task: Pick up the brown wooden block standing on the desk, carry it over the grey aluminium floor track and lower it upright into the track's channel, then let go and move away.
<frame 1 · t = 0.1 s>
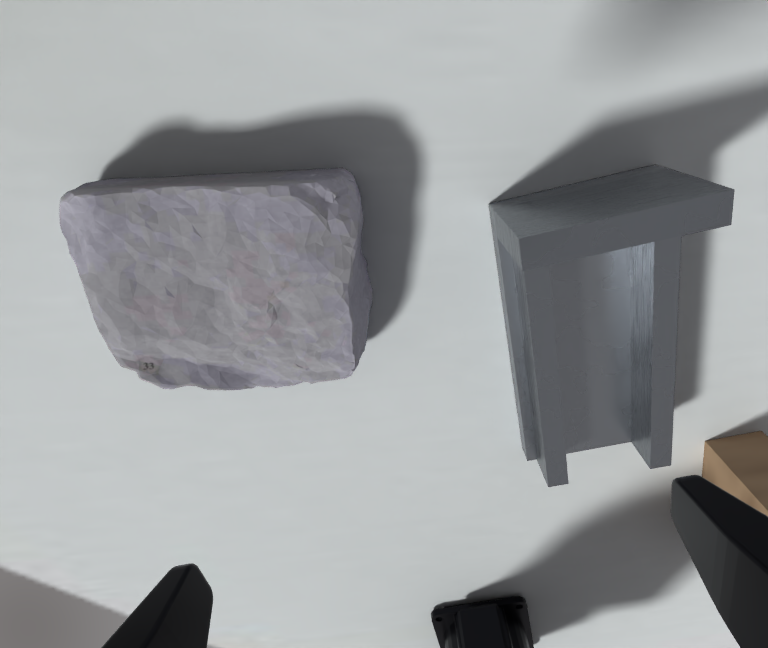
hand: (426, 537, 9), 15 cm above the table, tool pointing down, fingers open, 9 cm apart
stone block: (246, 275, 23), on the table
brown wooden block: (726, 486, 29), on the table
floor track: (579, 327, 24), on the table
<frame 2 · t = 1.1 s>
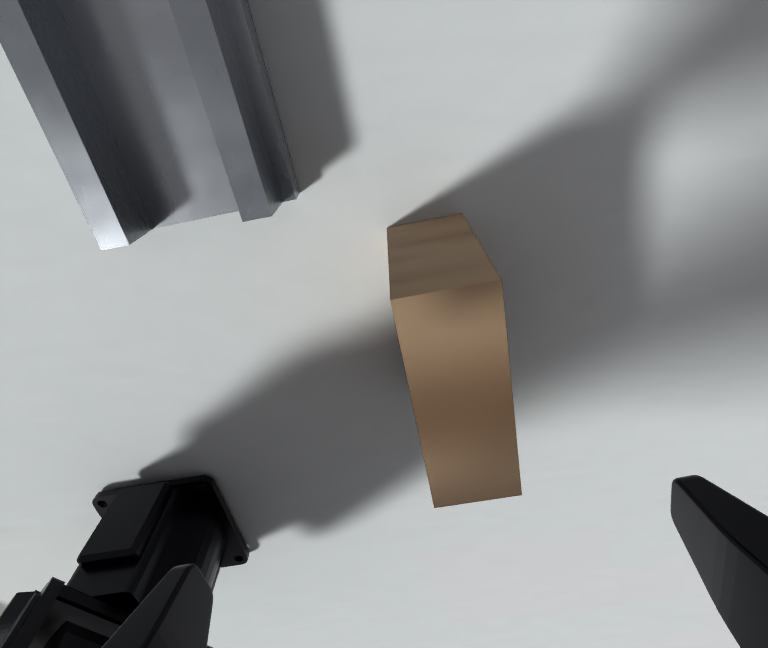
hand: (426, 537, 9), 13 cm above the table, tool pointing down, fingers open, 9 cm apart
brown wooden block: (438, 309, 21), on the table
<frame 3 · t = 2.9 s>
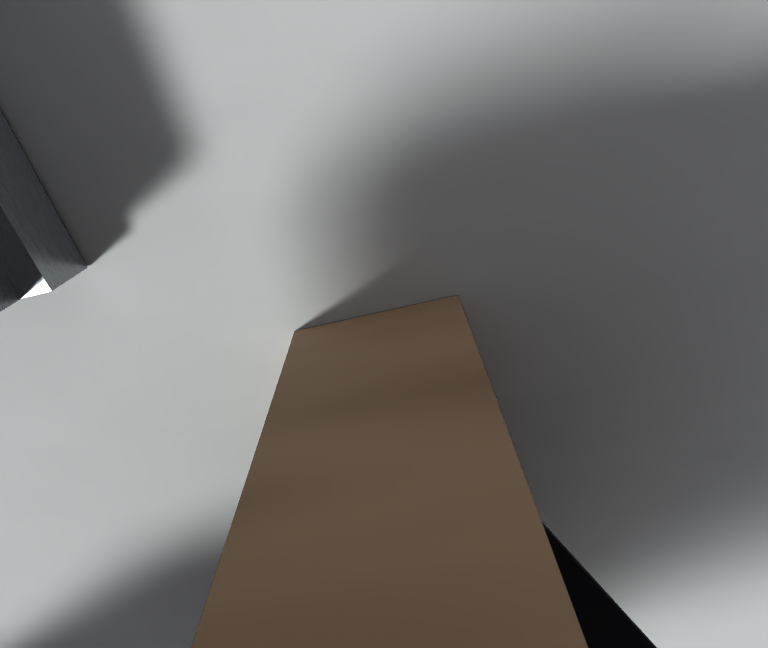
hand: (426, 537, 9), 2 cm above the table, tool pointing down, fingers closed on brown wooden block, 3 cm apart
brown wooden block: (419, 476, 10), on the table, touching gripper
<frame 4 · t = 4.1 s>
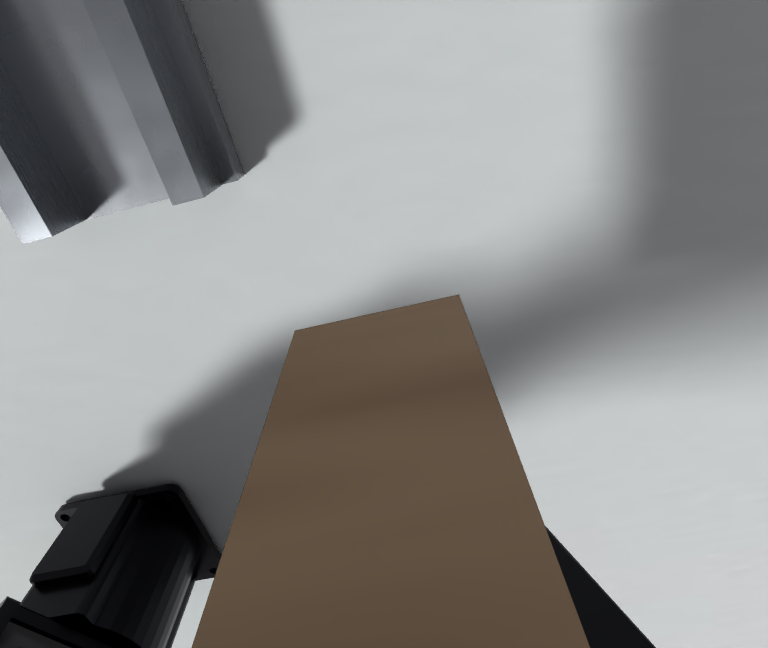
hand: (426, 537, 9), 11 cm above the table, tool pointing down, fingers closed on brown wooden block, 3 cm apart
brown wooden block: (420, 475, 10), point 10 cm above the table, touching gripper
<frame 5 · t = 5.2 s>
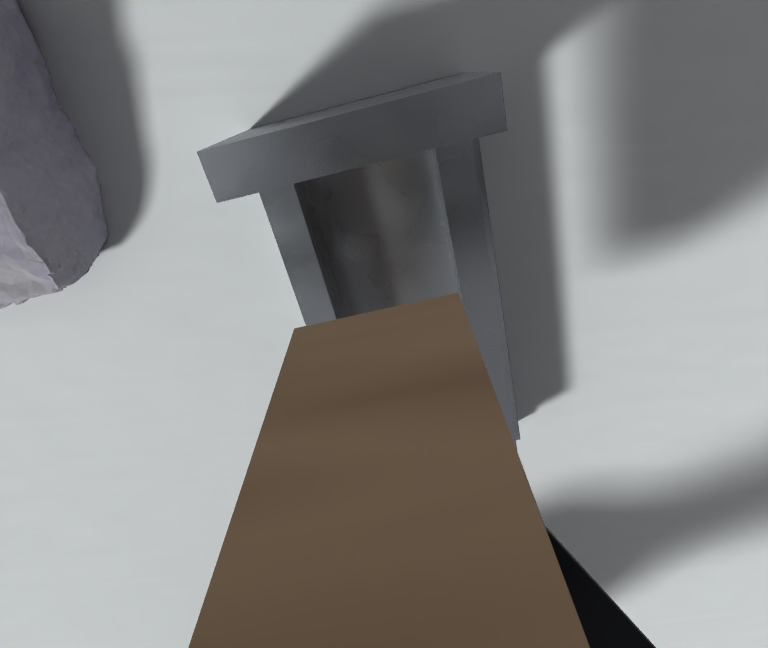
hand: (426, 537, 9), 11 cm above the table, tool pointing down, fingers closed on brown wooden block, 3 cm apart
brown wooden block: (419, 474, 10), point 9 cm above the table, touching gripper
floor track: (401, 299, 18), on the table
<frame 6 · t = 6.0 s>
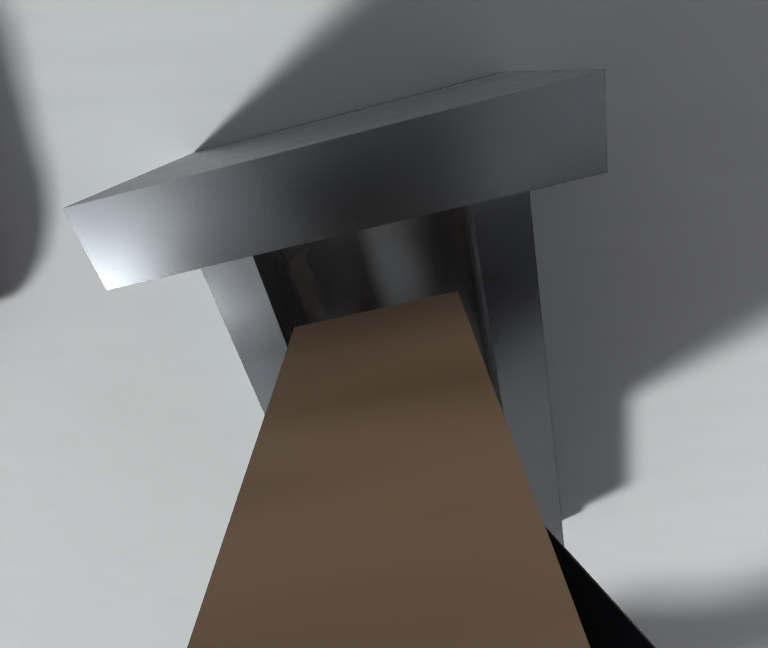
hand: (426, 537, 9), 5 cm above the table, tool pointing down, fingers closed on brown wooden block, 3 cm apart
brown wooden block: (419, 472, 10), point 4 cm above the table, touching gripper
floor track: (410, 377, 14), on the table
when the fingers open (4 cm above the table, at t = 6.5 s): brown wooden block drops 1 cm, resting on floor track.
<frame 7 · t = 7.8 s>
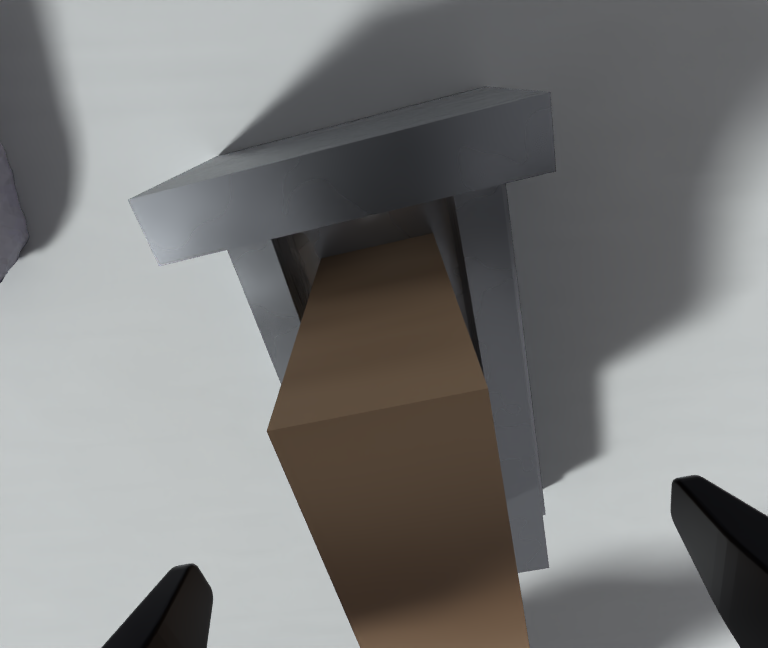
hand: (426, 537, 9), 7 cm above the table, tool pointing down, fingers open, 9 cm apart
brown wooden block: (407, 372, 14), point 1 cm above the table, touching floor track
floor track: (406, 355, 15), on the table
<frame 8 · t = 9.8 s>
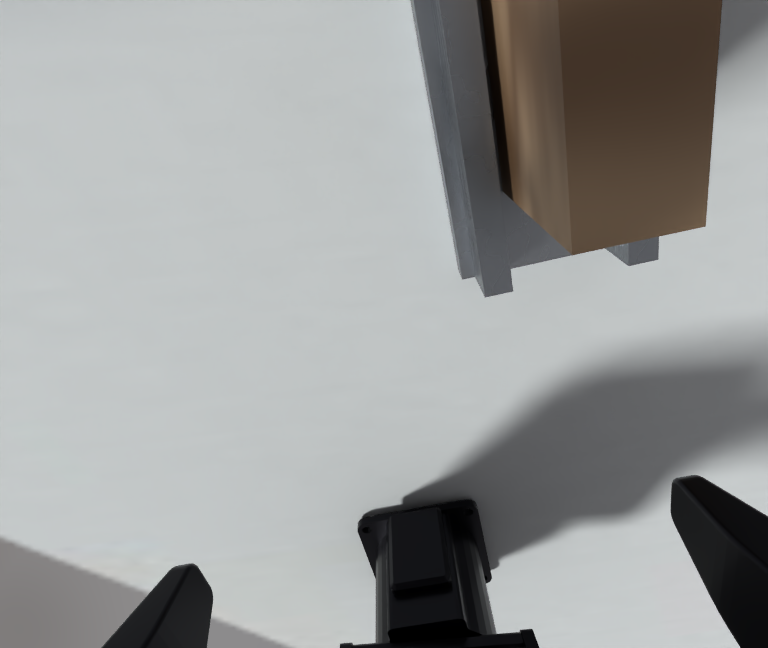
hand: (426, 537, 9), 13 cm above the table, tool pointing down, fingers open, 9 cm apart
brown wooden block: (535, 58, 16), point 1 cm above the table, touching floor track
floor track: (526, 59, 16), on the table
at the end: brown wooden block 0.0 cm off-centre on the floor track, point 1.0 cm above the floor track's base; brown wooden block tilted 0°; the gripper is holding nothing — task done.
